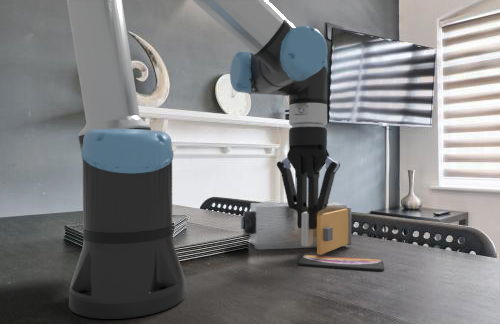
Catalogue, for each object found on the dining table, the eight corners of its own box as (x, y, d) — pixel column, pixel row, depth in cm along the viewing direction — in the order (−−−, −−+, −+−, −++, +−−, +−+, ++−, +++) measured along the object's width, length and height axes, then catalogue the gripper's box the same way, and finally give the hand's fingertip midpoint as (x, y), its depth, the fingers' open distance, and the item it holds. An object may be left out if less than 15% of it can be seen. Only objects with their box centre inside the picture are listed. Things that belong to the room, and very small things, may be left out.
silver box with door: (244, 250, 84) (244, 202, 84) (239, 242, 92) (239, 198, 92) (346, 246, 88) (346, 200, 88) (333, 239, 96) (333, 197, 96)
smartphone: (302, 254, 79) (383, 259, 75) (302, 258, 79) (383, 263, 75) (296, 262, 72) (384, 269, 67) (296, 267, 72) (384, 274, 67)
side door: (325, 256, 76) (325, 214, 76) (317, 255, 77) (316, 214, 77) (354, 244, 87) (354, 207, 87) (346, 243, 88) (346, 207, 88)
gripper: (270, 126, 80) (269, 244, 80) (332, 124, 74) (331, 252, 74) (286, 129, 87) (286, 238, 87) (345, 127, 80) (344, 245, 80)
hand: (307, 244), depth 80 cm, fingers closed
